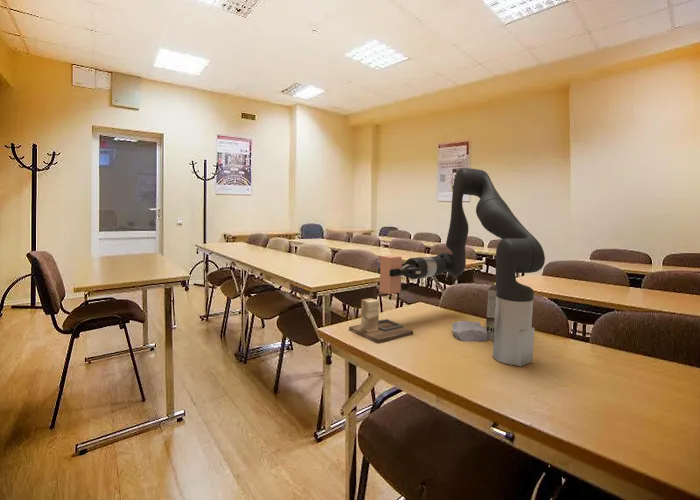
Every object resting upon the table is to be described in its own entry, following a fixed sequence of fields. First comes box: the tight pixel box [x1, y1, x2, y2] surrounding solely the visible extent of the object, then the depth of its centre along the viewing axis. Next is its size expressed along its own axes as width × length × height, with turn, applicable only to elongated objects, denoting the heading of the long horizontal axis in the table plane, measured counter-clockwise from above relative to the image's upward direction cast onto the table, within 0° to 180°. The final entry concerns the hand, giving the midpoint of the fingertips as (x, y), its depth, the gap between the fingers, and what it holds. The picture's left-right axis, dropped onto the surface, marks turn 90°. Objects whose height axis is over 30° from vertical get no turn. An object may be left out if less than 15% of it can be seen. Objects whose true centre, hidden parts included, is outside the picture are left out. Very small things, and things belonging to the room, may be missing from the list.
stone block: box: [451, 320, 488, 343], centre depth 122 cm, size 12×5×10 cm
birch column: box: [360, 297, 380, 333], centre depth 122 cm, size 4×4×10 cm
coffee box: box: [485, 284, 496, 341], centre depth 120 cm, size 9×6×16 cm
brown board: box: [348, 319, 414, 345], centre depth 124 cm, size 15×15×1 cm
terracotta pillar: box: [379, 254, 403, 295], centre depth 125 cm, size 5×5×12 cm
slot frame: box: [378, 318, 404, 332], centre depth 126 cm, size 8×8×1 cm
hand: (384, 271), depth 124 cm, fingers closed on terracotta pillar, 5 cm apart
